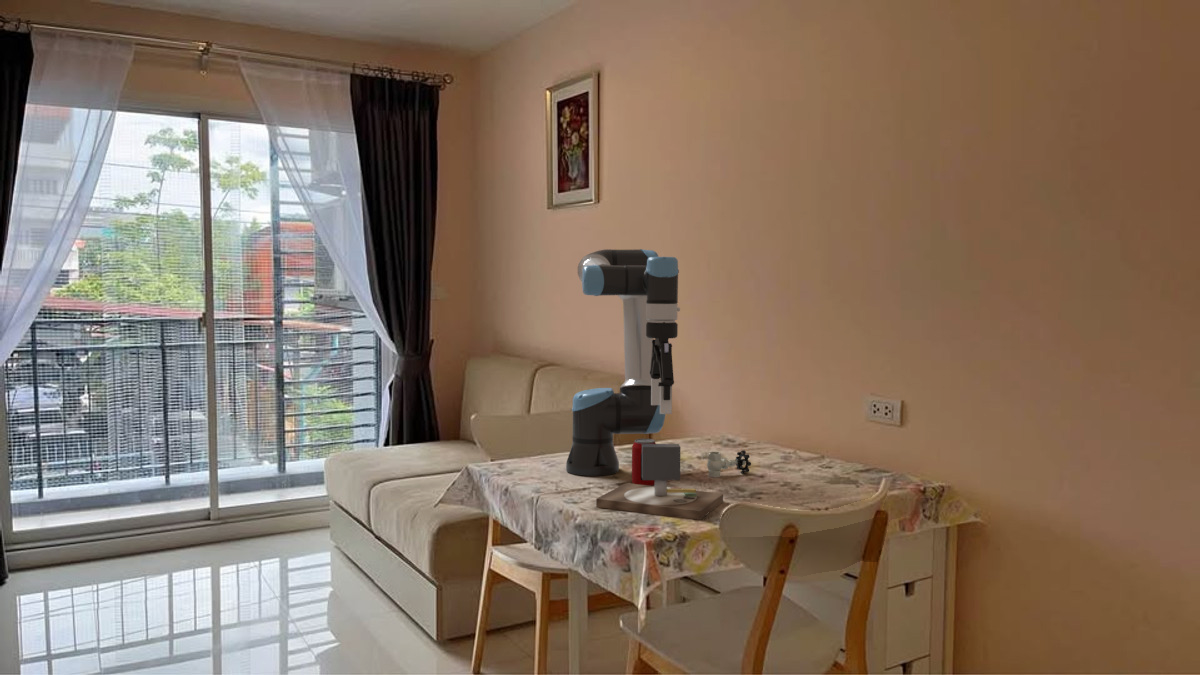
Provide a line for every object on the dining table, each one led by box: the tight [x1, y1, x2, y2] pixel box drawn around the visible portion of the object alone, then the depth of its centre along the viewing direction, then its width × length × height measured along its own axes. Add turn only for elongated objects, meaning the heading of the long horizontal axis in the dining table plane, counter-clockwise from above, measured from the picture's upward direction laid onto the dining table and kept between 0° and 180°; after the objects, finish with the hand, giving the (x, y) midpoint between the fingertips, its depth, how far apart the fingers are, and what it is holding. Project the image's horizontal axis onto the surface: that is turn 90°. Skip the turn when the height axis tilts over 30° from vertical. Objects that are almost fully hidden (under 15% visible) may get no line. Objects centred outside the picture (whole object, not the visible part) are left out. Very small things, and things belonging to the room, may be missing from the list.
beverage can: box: [631, 438, 657, 486], centre depth 227 cm, size 7×7×12 cm
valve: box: [706, 450, 752, 478], centre depth 240 cm, size 7×7×12 cm
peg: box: [642, 443, 697, 496], centre depth 207 cm, size 13×4×12 cm, turn 91°
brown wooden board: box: [595, 482, 724, 521], centre depth 207 cm, size 26×18×2 cm
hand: (661, 409), depth 206 cm, fingers open, 13 cm apart
